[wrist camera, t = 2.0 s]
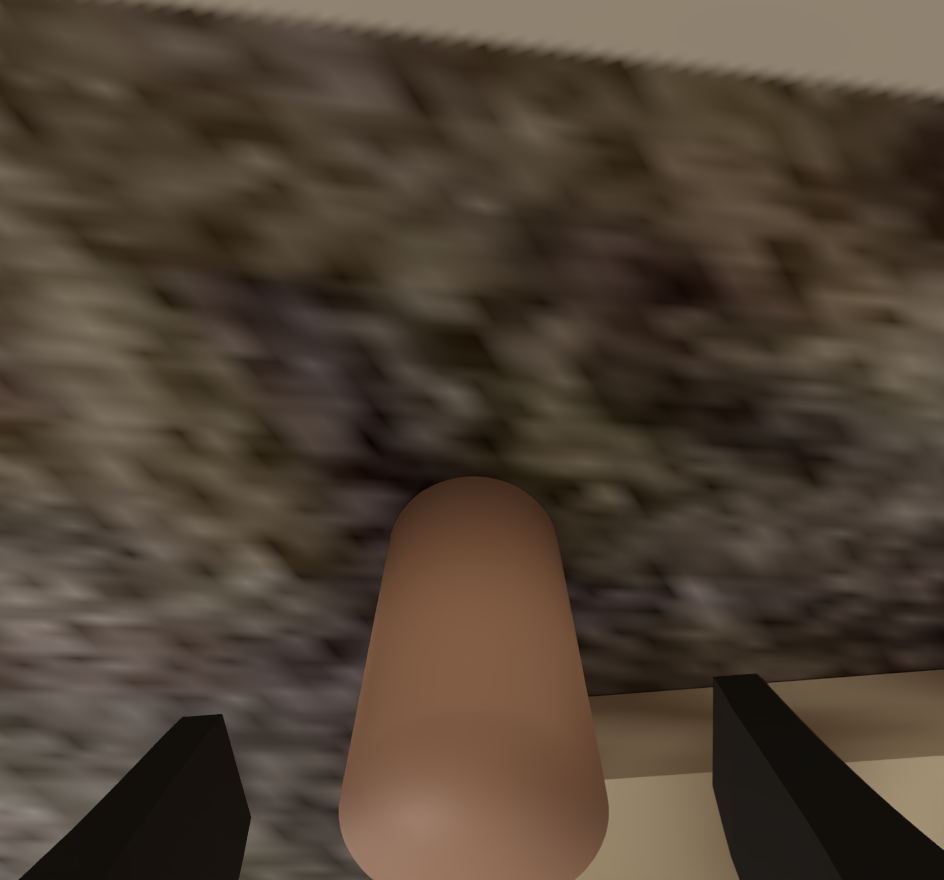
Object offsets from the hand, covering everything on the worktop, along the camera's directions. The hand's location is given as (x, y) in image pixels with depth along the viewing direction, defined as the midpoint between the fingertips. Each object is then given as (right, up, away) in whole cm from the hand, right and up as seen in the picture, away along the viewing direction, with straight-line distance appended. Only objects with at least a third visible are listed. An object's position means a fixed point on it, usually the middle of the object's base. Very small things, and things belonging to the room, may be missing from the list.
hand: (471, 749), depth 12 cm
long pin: (0, +2, +5) cm, 6 cm away
